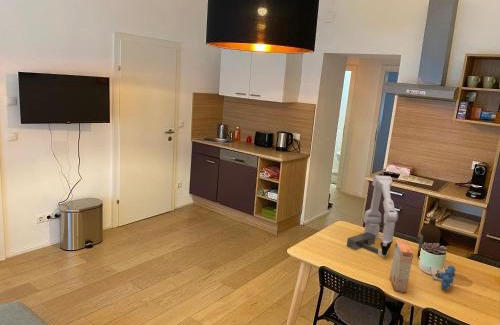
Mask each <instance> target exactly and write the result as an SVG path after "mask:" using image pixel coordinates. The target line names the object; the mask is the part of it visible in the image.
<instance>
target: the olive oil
mask: <svg viewBox="0 0 500 325" xmlns="http://www.w3.org/2000/svg"><path fill="white" fill-rule="evenodd" d="M428 220H429V222H428V223H427V224H425V225H424V226H422V227H421V229H420V231H419V240H418V248H417V257H418V259H420V258H419V256H420V251H421V248H422V244H423V243H424V242H427V243H438V245H439V244H440V240H441V235H442V234H441V230H440V228H439V227H438V226H437V224H436V223H437V218H436V217H435V216H429V219H428Z"/></svg>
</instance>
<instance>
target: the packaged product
mask: <svg viewBox="0 0 500 325" xmlns="http://www.w3.org/2000/svg"><path fill="white" fill-rule="evenodd" d="M448 266H449V264H448V263H447V262H445V264H444V267H443V269H442V270H437V274H431V278H432V280H433V281H436V282H439V283H441V282H442V281H443V279H442V278H441V277H440V273H442V272H444V273H445V270H446V269H448ZM454 284H455V282H454V280H453V283H451V284H450V285H454Z"/></svg>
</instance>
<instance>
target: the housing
mask: <svg viewBox="0 0 500 325" xmlns="http://www.w3.org/2000/svg"><path fill="white" fill-rule="evenodd" d="M375 238H376V235H374V234H371V233H369V232H366V233H364V232H363V233H359V234H357V235H356V234H355V235H354V236H350V237H347V242H346V247H347V248H350V249H351V250H353V251H357V250H360V249H363V248H362V245H363V244H367V245H370V246H372V245H374V244H375V242H376V239H377V238H376V239H375Z"/></svg>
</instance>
